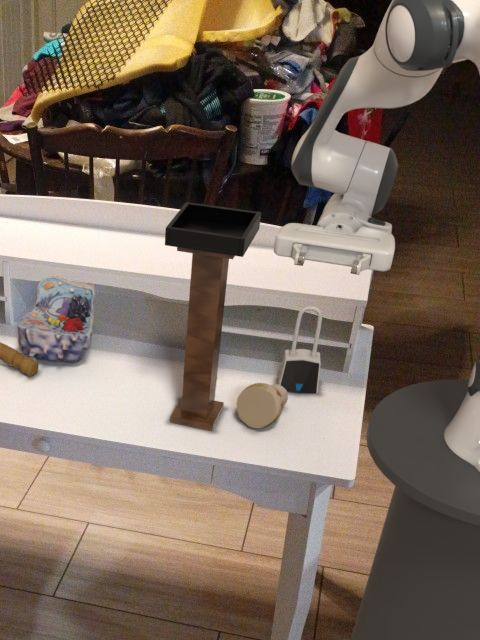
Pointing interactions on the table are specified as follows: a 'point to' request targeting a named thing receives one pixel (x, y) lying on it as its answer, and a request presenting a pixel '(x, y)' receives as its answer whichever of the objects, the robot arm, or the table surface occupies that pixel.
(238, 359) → the table surface
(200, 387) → the stand
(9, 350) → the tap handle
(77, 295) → the cell model
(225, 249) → the dark tray
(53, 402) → the table surface
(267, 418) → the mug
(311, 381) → the padlock
